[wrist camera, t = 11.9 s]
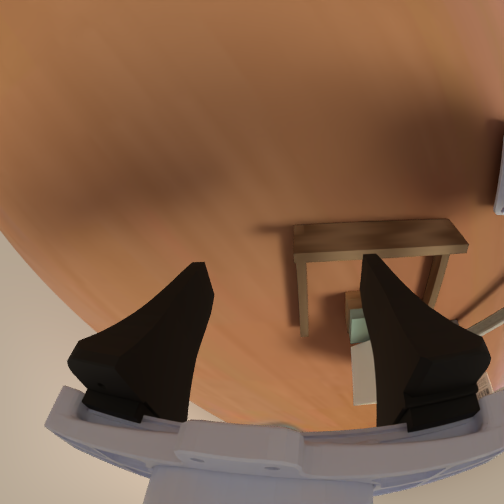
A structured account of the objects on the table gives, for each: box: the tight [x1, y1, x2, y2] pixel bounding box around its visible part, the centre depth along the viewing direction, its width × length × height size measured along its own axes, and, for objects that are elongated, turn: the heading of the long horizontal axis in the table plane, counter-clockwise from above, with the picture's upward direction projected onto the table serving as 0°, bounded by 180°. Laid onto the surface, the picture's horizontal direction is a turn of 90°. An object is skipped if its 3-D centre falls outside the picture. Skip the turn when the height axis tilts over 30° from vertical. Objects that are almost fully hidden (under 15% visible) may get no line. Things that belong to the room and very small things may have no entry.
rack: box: [293, 219, 469, 337], centre depth 24 cm, size 14×12×4 cm
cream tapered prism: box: [351, 340, 377, 406], centre depth 25 cm, size 4×6×8 cm
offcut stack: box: [345, 290, 370, 344], centre depth 26 cm, size 5×4×4 cm
